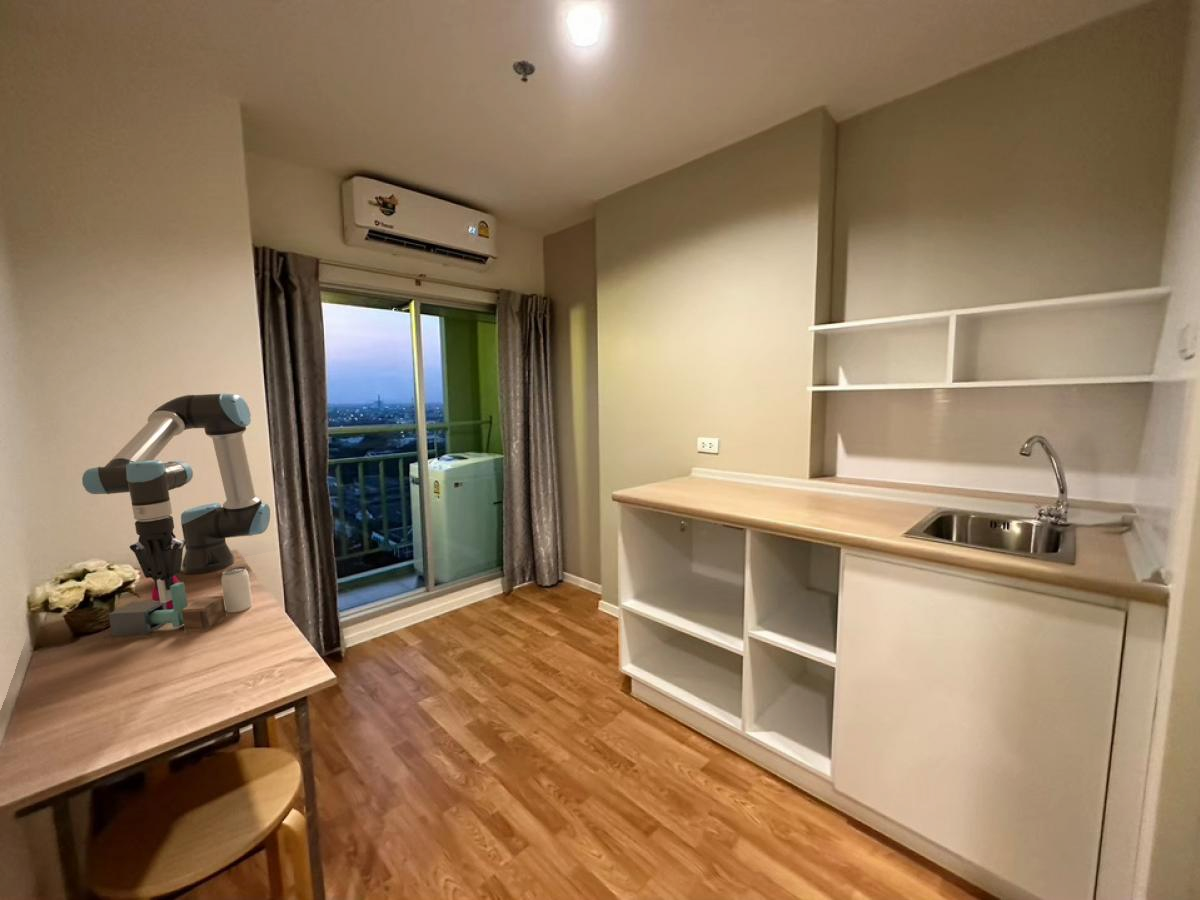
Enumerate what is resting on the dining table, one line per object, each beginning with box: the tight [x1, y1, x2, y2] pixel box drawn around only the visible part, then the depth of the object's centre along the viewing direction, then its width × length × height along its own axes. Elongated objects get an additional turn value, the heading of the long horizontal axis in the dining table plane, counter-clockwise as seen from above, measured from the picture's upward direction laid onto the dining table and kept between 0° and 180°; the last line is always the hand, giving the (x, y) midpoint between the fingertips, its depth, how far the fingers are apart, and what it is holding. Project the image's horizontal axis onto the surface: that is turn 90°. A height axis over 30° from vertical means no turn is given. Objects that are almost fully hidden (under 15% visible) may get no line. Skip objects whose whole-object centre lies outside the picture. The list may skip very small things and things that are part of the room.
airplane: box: [148, 581, 190, 628], centre depth 131 cm, size 16×5×11 cm, turn 94°
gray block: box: [108, 600, 168, 638], centre depth 131 cm, size 7×9×7 cm
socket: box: [182, 595, 227, 634], centre depth 132 cm, size 8×6×7 cm
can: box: [220, 566, 253, 614], centre depth 142 cm, size 6×6×12 cm
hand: (167, 600), depth 131 cm, fingers closed
